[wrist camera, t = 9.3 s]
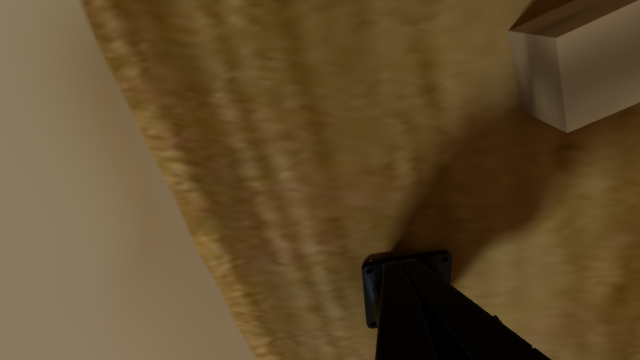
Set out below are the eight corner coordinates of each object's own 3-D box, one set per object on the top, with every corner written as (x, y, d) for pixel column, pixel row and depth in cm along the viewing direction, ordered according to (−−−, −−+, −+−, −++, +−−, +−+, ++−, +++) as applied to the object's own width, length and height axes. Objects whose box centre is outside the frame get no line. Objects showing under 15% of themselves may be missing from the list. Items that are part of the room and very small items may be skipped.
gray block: (603, 74, 21) (667, 90, 18) (521, 110, 22) (567, 133, 18) (598, -13, 19) (670, -15, 15) (506, 30, 19) (555, 38, 16)
